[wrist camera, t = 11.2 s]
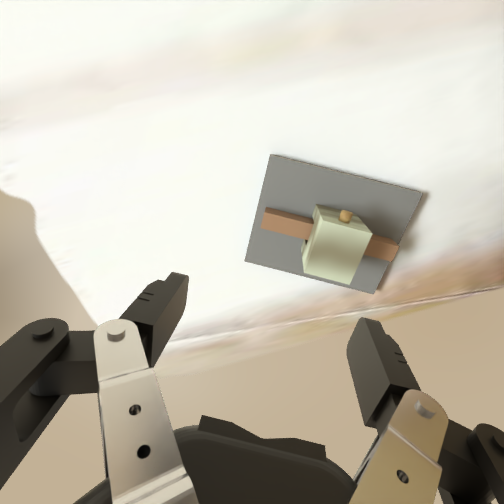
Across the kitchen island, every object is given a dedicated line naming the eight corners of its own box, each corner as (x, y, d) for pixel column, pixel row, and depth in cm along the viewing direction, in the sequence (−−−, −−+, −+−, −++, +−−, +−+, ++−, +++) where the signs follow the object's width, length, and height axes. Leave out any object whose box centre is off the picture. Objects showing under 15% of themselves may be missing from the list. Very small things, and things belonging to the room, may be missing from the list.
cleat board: (270, 154, 33) (268, 156, 30) (417, 191, 33) (433, 198, 29) (245, 256, 39) (241, 269, 35) (370, 288, 39) (379, 304, 35)
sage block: (318, 195, 33) (326, 210, 27) (359, 206, 33) (376, 224, 27) (300, 247, 36) (303, 272, 29) (338, 257, 36) (349, 284, 29)
